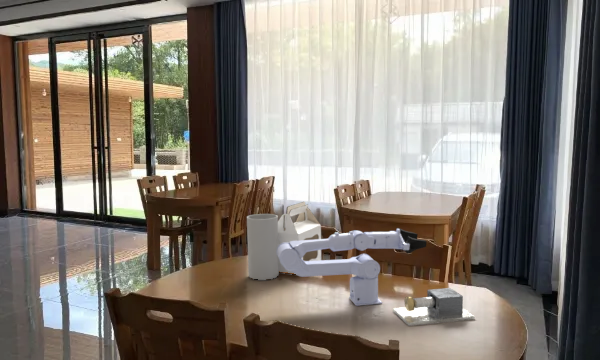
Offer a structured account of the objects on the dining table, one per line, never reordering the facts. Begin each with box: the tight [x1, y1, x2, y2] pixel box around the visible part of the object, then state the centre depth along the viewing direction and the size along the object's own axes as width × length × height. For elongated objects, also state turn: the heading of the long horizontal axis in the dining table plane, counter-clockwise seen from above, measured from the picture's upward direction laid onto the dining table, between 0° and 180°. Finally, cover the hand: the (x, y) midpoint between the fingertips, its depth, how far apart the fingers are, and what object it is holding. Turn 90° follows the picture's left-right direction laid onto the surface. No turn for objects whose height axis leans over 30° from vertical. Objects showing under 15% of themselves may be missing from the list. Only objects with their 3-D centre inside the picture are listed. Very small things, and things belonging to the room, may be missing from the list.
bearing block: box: [392, 287, 476, 327], centre depth 150 cm, size 22×12×7 cm, turn 101°
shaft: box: [404, 295, 436, 311], centre depth 149 cm, size 15×4×4 cm, turn 101°
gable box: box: [278, 201, 322, 273], centre depth 205 cm, size 22×13×28 cm, turn 152°
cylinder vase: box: [246, 213, 280, 281], centre depth 192 cm, size 12×12×25 cm
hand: (421, 240), depth 165 cm, fingers open, 7 cm apart
